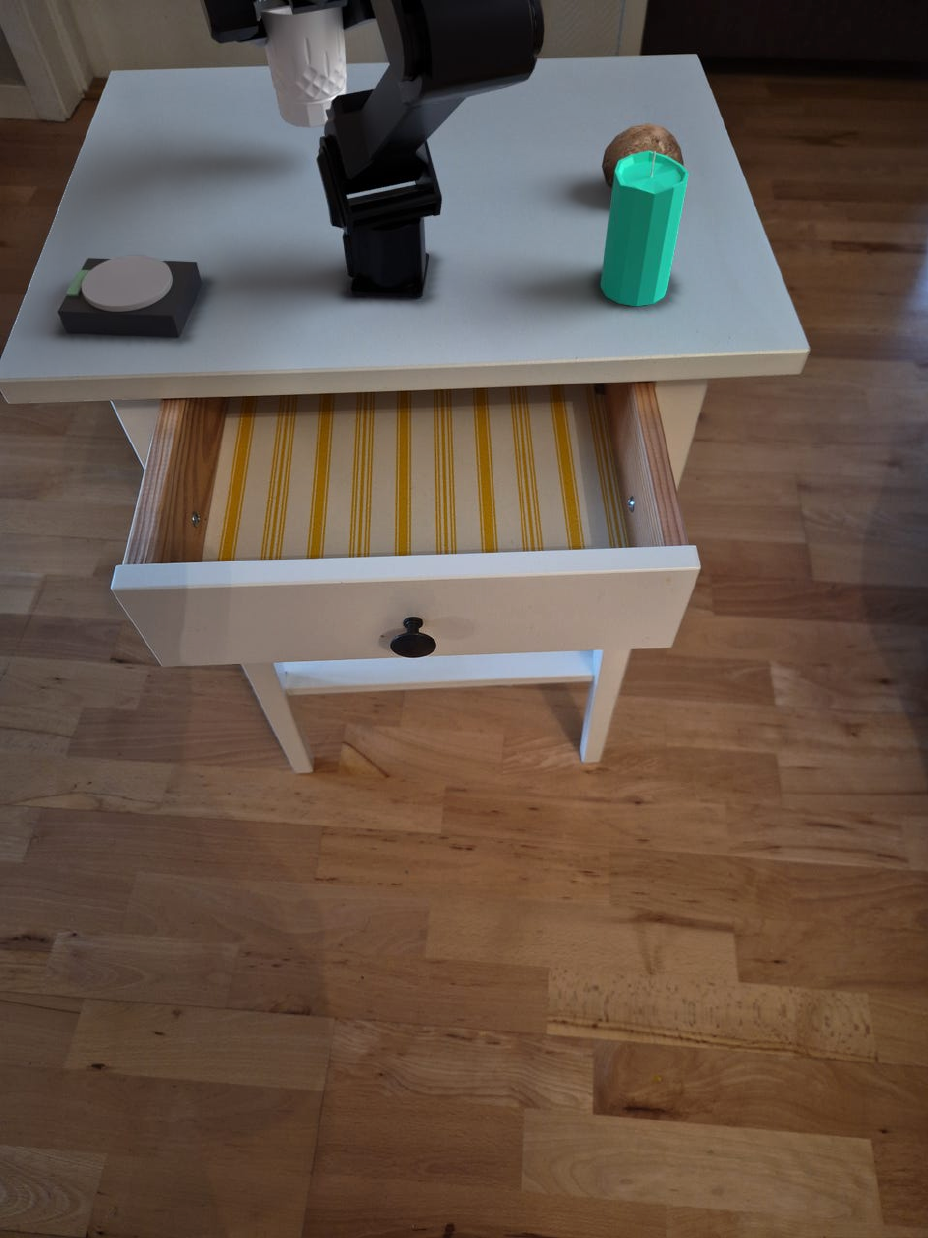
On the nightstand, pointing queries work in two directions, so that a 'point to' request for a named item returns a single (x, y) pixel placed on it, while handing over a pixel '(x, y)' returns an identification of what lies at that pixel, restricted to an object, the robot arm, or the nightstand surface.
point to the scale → (131, 297)
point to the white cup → (306, 62)
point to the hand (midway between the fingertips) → (300, 33)
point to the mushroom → (639, 147)
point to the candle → (642, 227)
